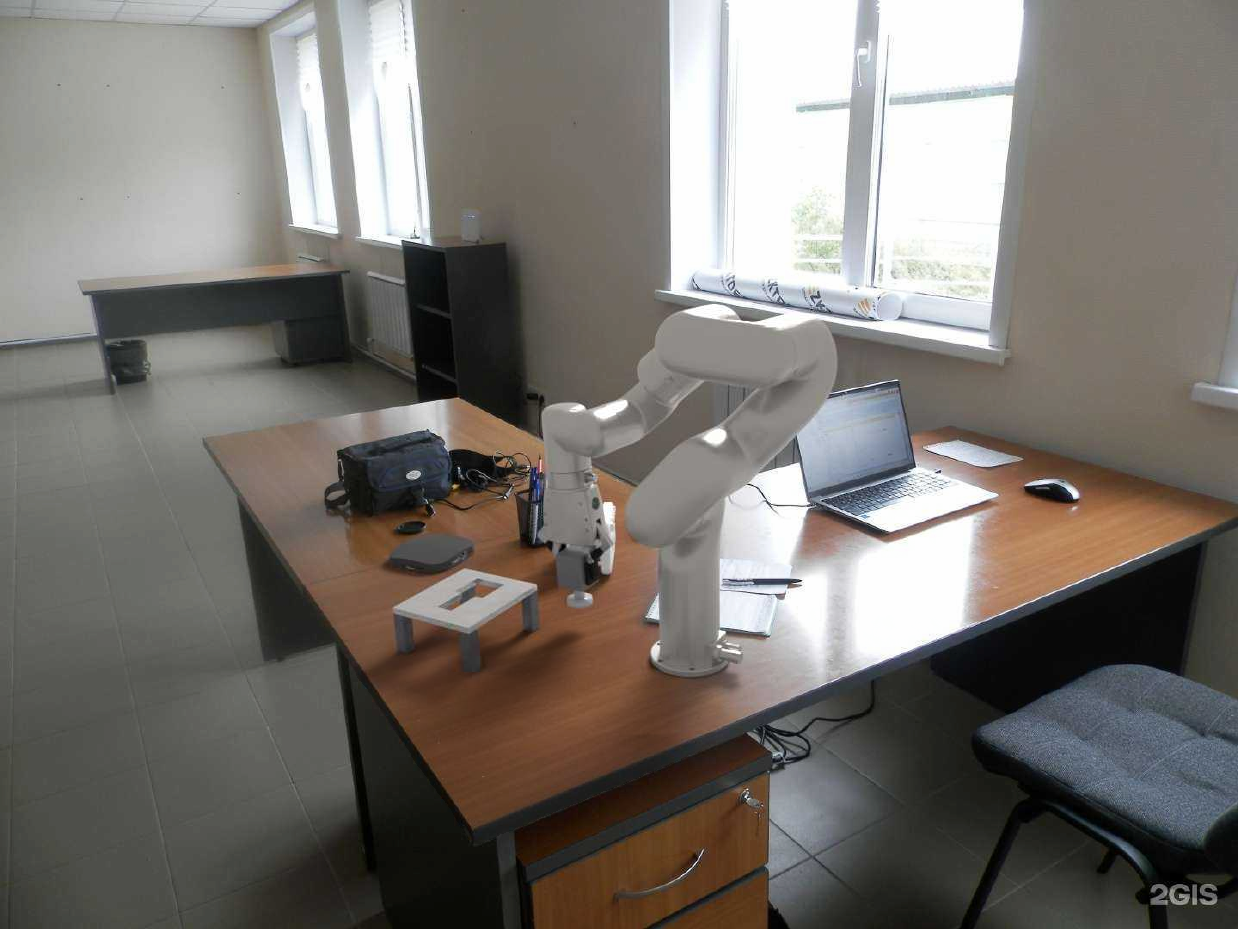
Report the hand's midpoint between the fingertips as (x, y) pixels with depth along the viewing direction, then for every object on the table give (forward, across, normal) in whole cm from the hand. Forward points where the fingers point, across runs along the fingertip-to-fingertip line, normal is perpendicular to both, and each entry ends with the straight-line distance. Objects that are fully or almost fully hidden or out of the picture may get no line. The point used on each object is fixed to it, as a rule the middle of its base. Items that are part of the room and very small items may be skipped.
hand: (578, 579), depth 153 cm
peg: (+5, 0, 0) cm, 5 cm away
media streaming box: (+8, +45, -12) cm, 47 cm away
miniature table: (+8, +14, +13) cm, 21 cm away
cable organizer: (+8, +13, -23) cm, 28 cm away
